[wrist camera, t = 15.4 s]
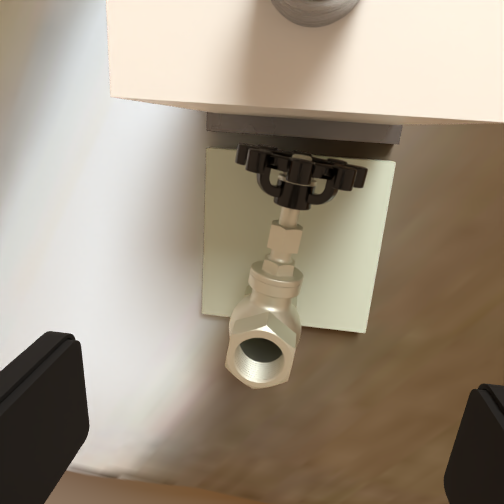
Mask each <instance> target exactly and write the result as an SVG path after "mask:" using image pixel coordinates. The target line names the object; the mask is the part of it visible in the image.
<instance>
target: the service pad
mask: <svg viewBox="0 0 504 504" xmlns="http://www.w3.org/2000/svg"><path fill="white" fill-rule="evenodd" d="M236 152H237V149H228V148H215V147H209V148H206V173H205V210H204V247H203V285H202V314H207V315H215V316H224V317H231V314H232V312H233V310H234V308H235V307H236V306H237V304H238V303H239V302H240V301H241V300H242V299H243V298H244V294H245V291H246V288H247V286H248V285H249V283H248V279H249V274H250V268H251V265H252V264H253V263H254V262H256V261H261V260H264V259H265V255H266V254H270V253H271V249H270V248H268V247H267V244H268V239H269V234H270V229H271V224H272V221H273V220H279V217H280V212H281V208H282V206H279V205H277V204H275V203H274V201H273V199H274V197H273V196H270V195H268V194H266V193H265V192H263V191H262V190H261V188H260V187H259V185H258V183H257V176H256V175H257V173H253V172H249V171H247V170H245V166H246V164H245V166H244V165H240V164H237V163H235V158H236ZM312 157H316V158H321V159H326V160H327V159H328V158H333V159H339V160H343V161H346V162H347V163H348V164H352V165H357V166H362V167H365V168H367V169H368V172H367V176H366V180H365V183H364V187H363V188H354V187H353V189H352V191H342V190H338V192H337V194H336V196H335V197H334V198H333V199H332V200H331V201H330V202H328V203H326V204H321V205H311V209H310V210H300V214H299V219H298V223H297V224H299V225H301V226H302V227H303V232H302V236H301V240H300V245H299V249H298V253H297V254H292V256H291V258H292V259H293V260H295V266H294V267H295V268H297V269H299V270H300V271H301V272H302V273H303V276H304V278H303V283H302V287H301V291H300V294H299V295H298V296H297V308H296V309H297V311H298V314H299V316H300V320H301V326H309V327H317V328H326V329H334V330H343V331H351V332H360V333H365V332H366V327H367V321H368V315H369V310H370V304H371V299H372V293H373V287H374V282H375V276H376V271H377V265H378V259H379V254H380V248H381V243H382V237H383V231H384V226H385V220H386V215H387V209H388V203H389V198H390V192H391V187H392V181H393V175H394V170H395V164H396V162H393V161H387V160H374V159H361V158H347V157H334V156H321V155H312ZM279 173H283V171H279V170H275V169H272V168H271V173H270V178H269V179H270V183H271V184H272V185H277V180H278V175H279ZM314 180H316V181H317V184H316V188H315V192H314V193H317V194H321V193H322V192H323V191H324V189H325V185H326V181H327V180H326V179H319V178H314Z"/></svg>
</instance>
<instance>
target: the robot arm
mask: <svg viewBox="0 0 504 504" xmlns="http://www.w3.org/2000/svg"><path fill="white" fill-rule="evenodd" d="M88 432H89V417H88V407H87V398H86V388H85V379H84V370H83V360H82V351H81V344H80V342H79V341H77V340H75V337H74V336H73V335H72V334H69V333H61V332H52V331H49V332H46V333H44V334H43V335H42V336H41V337H40V338H38V339H37V340H36V341H35V342H34V343H33V344H32V345H30V346H29V347H28V348H27V349H26V350H25V351H23V352H22V353H21V354H20V355H19V356H18V357H17V358H15V359H14V360H13V361H12V362H11V363H10V364H8V365H7V366H6V367H5V368H4V369H3V370H2V371H0V504H44V503H45V501H46V500H47V498H48V497H49V495H50V493H51V492H52V491H53V489H54V488H55V486H56V484H57V483H58V482H59V480H60V478H61V477H62V475H63V474H64V472H65V471H66V469H67V468H68V466H69V465H70V463H71V462H72V460H73V459H74V457H75V455H76V454H77V452H78V451H79V449H80V448H81V446H82V445H83V443H84V442H85V440H86V438H87V435H88ZM444 488H445V492H446V495H447V498H448V501H449V503H450V504H504V386H501V385H492V384H481V385H480V386H479V388H478V389H473V390H472V391H471V393H470V395H469V398H468V401H467V405H466V408H465V411H464V414H463V417H462V420H461V424H460V427H459V430H458V433H457V436H456V440H455V443H454V446H453V449H452V452H451V455H450V459H449V462H448V465H447V468H446V471H445V475H444Z"/></svg>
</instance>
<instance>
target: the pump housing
mask: <svg viewBox="0 0 504 504" xmlns="http://www.w3.org/2000/svg"><path fill="white" fill-rule="evenodd" d="M106 12H107V33H108V55H109V76H110V97H114V98H121V99H127V100H134V101H140V102H147V103H153V104H160V105H166V106H173V107H179V108H186V109H192V110H199V111H205V112H207V131H219V132H233V133H247V134H261V135H275V136H289V137H303V138H317V139H331V140H345V141H359V142H373V143H387V144H399V142H400V136H401V131H402V125H424V124H486V123H504V0H106Z"/></svg>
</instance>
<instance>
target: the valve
mask: <svg viewBox="0 0 504 504" xmlns="http://www.w3.org/2000/svg"><path fill="white" fill-rule="evenodd" d="M235 163H237V164H240V165H244V166H245V164H246V166H245V170H247V171H249V172H253V173H257V175H256V176H257V183H258V185H259V187H260V188H261V190H262V191H263V192H265V193H266V194H268V195H270V196H273V197H274V199H273V201H274V203H275V204H277V205H279V206H282V208H281V212H280V217H279V220H273V221H272V224H271V229H270V234H269V239H268V244H267V247H268V248H270V249H271V253H270V254H266V255H265V259H264V260H261V261H256V262H254V263H253V264H252V265H251V268H250V274H249V279H248V283H249V285H248V286H247V288H246V291H245V294H244V298H243V299H242V300H241V301H240V302H239V303H238V304H237V306H236V307H235V308H234V310H233V312H232V314H231V318H230V322H229V336H230V340H229V345H228V350H227V356H226V362H225V367H226V368H227V369H228V370H229V371H230V372H231V373H232V374H233V375H234V376H235V377H236V378H237V379H238V380H240V381H241V382H243V383H244V384H245V385H247V386H249V387H250V388H252V389H258V388H265V387H271V386H274V385H278V384H281V383H284V382H286V381H288V378H289V375H290V371H291V367H292V363H293V359H294V355H295V350H296V347H297V345H298V343H299V340H300V336H301V320H300V316H299V314H298V311H297V309H296V308H297V296H298V295H299V294H300V291H301V287H302V283H303V278H304V276H303V273H302V272H301V271H300V270H299V269H297V268H295V267H294V266H295V260H293V259H292V258H291V256H292V254H297V253H298V249H299V245H300V240H301V236H302V232H303V227H302V226H301V225H299V224H297V223H298V219H299V214H300V210H310V209H311V205H321V204H326V203H328V202H330V201H331V200H332V199H333V198H334V197H335V196H336V194H337V192H338V190H342V191H352V189H353V187H354V188H363V187H364V183H365V180H366V176H367V172H368V169H367V168H365V167H362V166H357V165H352V164H348V163H347V162H346V161H343V160H339V159H333V158H328V159H327V160H326V159H321V158H316V157H312V154H310V153H307V152H302V151H296V150H294V151H293V152H292V153H291V152H285V151H280V150H278V149H277V148H276V147H272V146H267V145H260V144H259V145H258V146H255V145H250V144H244V143H239V144H238V146H237V152H236V158H235ZM271 168H272V169H275V170H279V171H283V173H279V175H278V180H277V185H272V184H271V183H270V179H269V178H270V173H271ZM314 178H319V179H326V180H327V181H326V185H325V189H324V191H323V192H322V193H321V194H317V193H314V192H315V188H316V184H317V181H316V180H314Z"/></svg>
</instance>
